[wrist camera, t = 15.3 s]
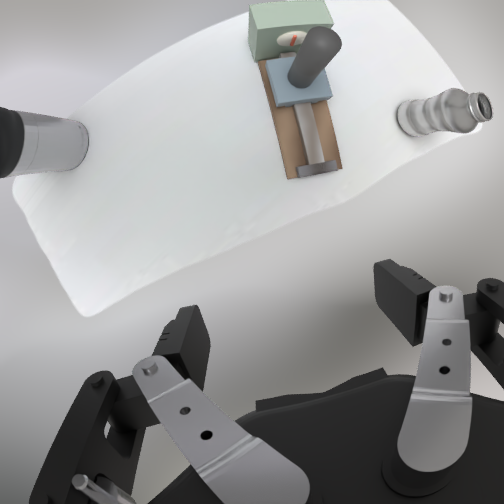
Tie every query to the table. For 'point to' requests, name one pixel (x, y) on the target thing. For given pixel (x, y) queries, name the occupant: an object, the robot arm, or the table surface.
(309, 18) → the gauge cabinet
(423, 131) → the plastic bottle
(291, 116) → the rail
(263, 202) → the table surface
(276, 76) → the cylinder
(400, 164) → the table surface
